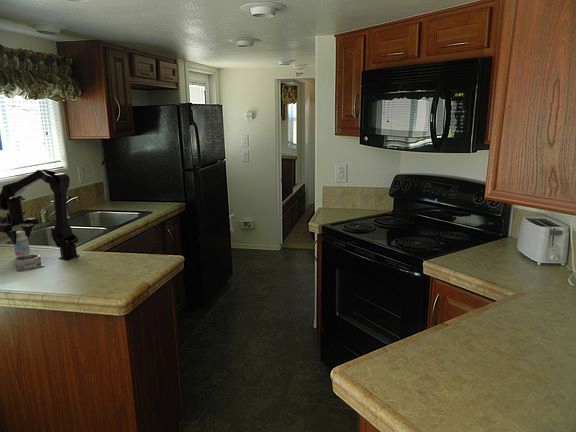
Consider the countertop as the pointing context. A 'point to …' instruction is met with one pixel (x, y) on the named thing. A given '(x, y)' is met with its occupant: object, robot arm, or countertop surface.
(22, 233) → the pill bottle
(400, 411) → the countertop surface
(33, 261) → the grey open tray
